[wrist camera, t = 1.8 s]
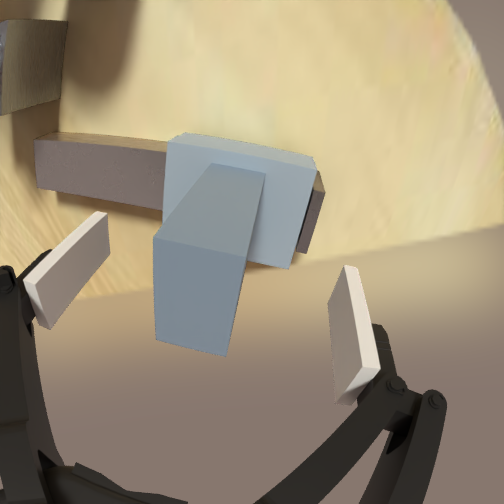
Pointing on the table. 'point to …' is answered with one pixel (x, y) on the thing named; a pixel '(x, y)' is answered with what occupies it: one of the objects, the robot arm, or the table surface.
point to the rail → (125, 172)
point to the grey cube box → (30, 62)
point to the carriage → (221, 231)
